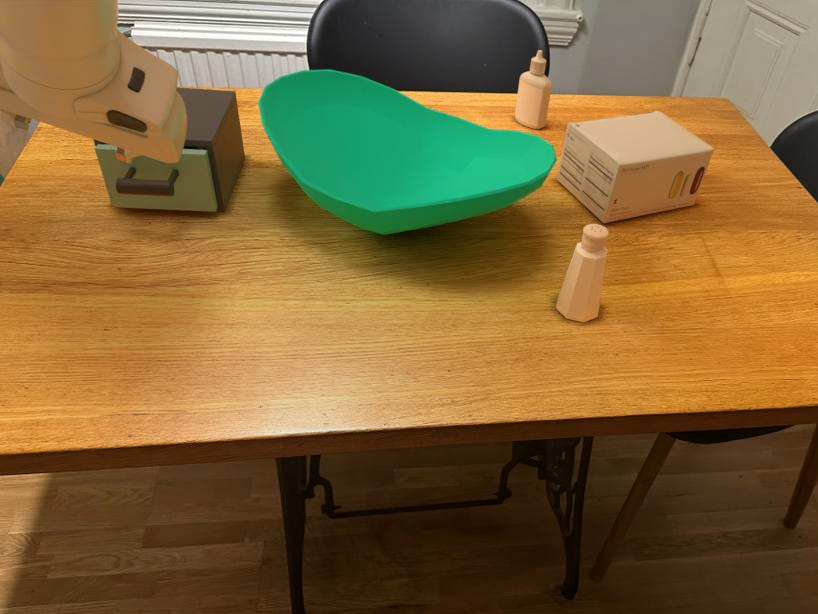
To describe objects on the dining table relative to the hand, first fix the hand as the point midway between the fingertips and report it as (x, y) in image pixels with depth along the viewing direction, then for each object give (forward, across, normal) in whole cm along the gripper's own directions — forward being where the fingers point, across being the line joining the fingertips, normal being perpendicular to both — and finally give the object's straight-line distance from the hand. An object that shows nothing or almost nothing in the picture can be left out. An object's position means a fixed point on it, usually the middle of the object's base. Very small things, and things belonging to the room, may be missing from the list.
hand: (74, 139), depth 70 cm
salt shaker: (-8, +56, -5) cm, 56 cm away
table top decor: (+9, +37, +8) cm, 39 cm away
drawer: (+18, +9, +6) cm, 21 cm away
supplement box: (+2, +68, +20) cm, 71 cm away
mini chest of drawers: (+21, +9, +9) cm, 25 cm away
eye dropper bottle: (+18, +58, +38) cm, 72 cm away
